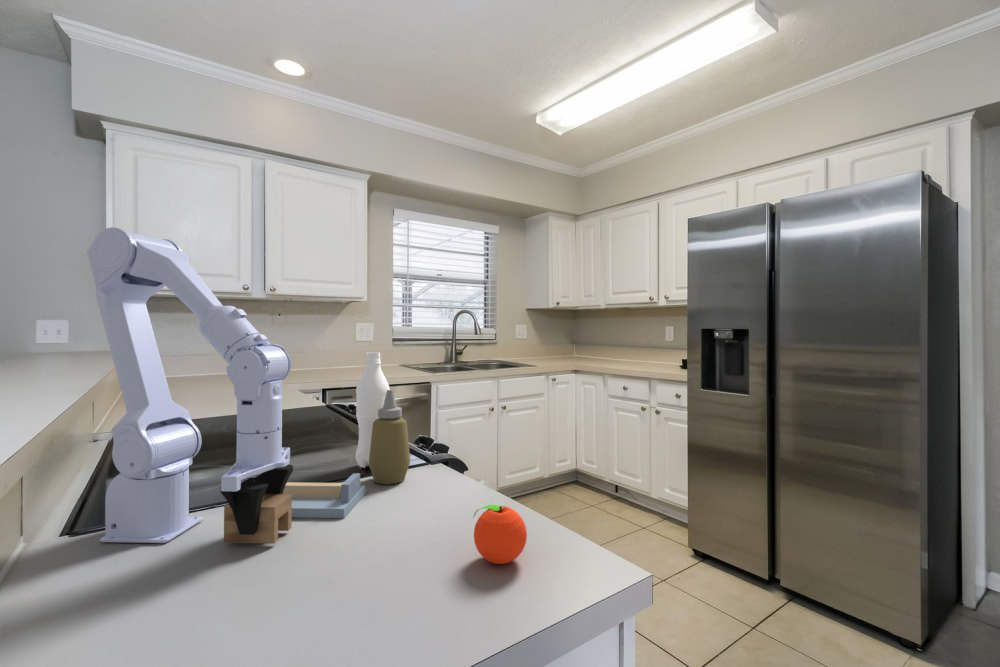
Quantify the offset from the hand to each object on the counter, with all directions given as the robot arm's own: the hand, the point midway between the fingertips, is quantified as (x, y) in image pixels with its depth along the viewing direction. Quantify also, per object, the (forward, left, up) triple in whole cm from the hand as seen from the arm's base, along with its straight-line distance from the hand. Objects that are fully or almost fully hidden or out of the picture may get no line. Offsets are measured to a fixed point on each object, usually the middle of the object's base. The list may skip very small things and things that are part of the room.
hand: (258, 524), depth 65 cm
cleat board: (+3, +13, -2) cm, 13 cm away
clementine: (+34, -5, -2) cm, 35 cm away
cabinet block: (0, 0, -2) cm, 2 cm away
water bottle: (+6, +35, -2) cm, 36 cm away
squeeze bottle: (+12, +26, -2) cm, 29 cm away
